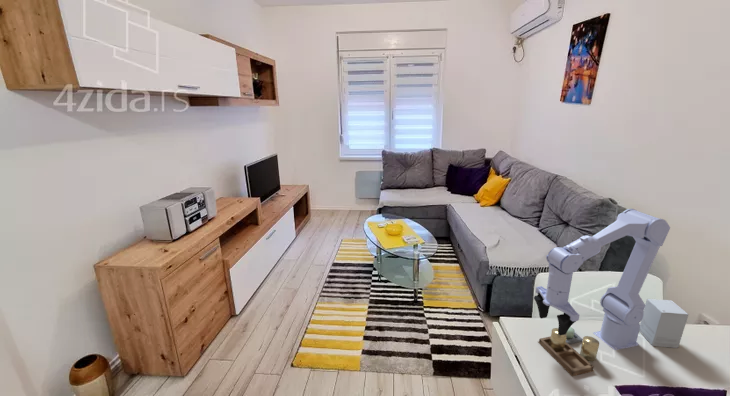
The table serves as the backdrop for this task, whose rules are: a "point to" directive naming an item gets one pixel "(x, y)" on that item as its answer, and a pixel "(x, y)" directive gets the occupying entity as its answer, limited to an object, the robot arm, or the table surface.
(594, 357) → the cylinder
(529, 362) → the table surface
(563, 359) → the brown wooden tray
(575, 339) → the button housing
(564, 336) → the brass round-topped piece
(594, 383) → the table surface
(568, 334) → the button
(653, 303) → the supplement box
